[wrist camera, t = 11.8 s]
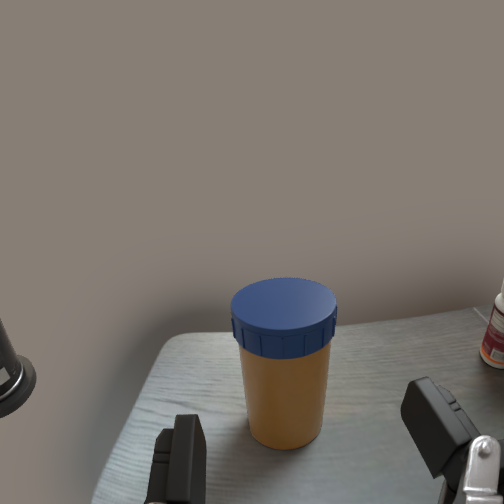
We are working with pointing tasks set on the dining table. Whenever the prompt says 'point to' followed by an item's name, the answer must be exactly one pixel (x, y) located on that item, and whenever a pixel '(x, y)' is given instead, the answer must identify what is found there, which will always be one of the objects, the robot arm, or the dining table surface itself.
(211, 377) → the dining table surface
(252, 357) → the jar
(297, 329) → the lid
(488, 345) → the pill bottle
